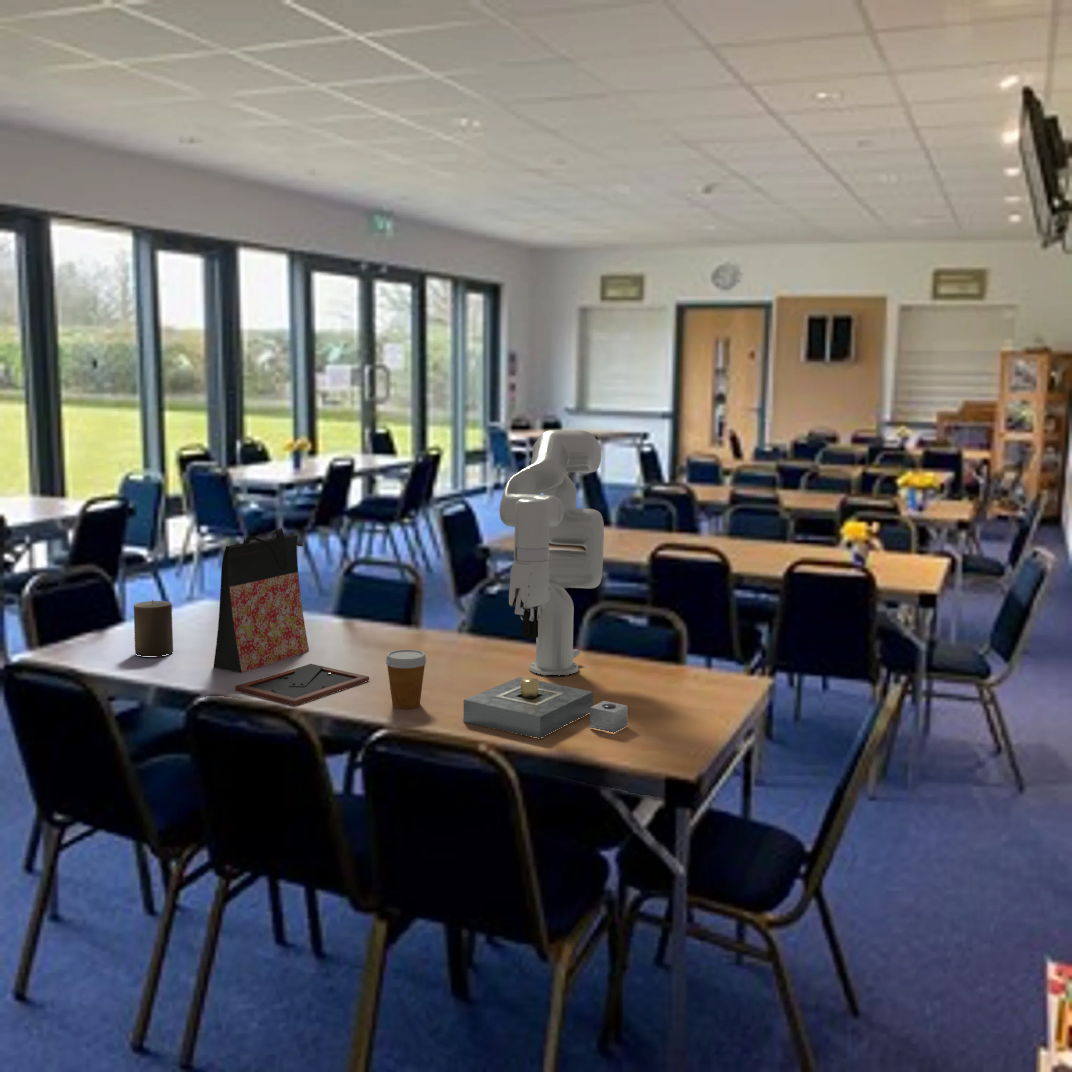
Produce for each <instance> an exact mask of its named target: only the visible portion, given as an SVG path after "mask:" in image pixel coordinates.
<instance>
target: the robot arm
mask: <svg viewBox="0 0 1072 1072" xmlns="http://www.w3.org/2000/svg"><path fill="white" fill-rule="evenodd" d="M530 461H531V462H530V465H528V466H527V467H525V468H523V469H520V471H518V472H516V474H514V475H513V476H511V477H510V478H509V479H508V481H507V482H506V483H505V485H504V489H503V492H502V496H501V499H500V504H499V508H498V509H499V510H498V511H499V518H500V520H501V522H502V524H503V525H505V526H506V527H511V528H514V544H513V545H514V550H513V551H514V552H513V553H514V554H513V555H514V557H513V558H514V559H513V562H512V567H511V571H510V578H509V592H508V604H509V606H510V607H513V608H515V609H514V614H515V615H519V616H520V620H521V621H522V622H521V628H522V629H521V636H522V637H523V638H525V639H533V640H534V639H536V641H535V644H536V646H535V650H536V651H535V661H533V662H531V663H530V665H529V670H530V671H531V672H532V673H534V674H536V673H537V674H536V675H540V674H541V675H540V676H546V675H558V676H557V677H561V676H560V675H565V676H570V675H569V674H571V675H574V674H576V673H578V671H579V665H578V664H577V663H576V662H574V660H575V658H577V657H579V656H580V650H579V649H576V648H575V649H574V614H575V613H574V612H575V611H574V610H575V609H574V602H573V599H572V597H571V596H570V594H569V593H568V592H567V590H566V589H568V588H571V589H574V588H575V589H596V588H598V587H599V585H600V584H601V581H602V578H603V568H604V565H603V564H604V543H605V541H604V540H605V539H604V538H605V537H604V535H605V526H604V525H605V523H604V519H603V516H602V513H601V512H600V511H599V510H596V509H593V508H577V505H576V504H577V487H576V486H575V484H574V482H573V481H572V480H571V478H570V477H569V476H568V475H567V474H566V473H585V474H587V473H590V474H591V473H595V472H596V471H597V470H598V469H599V468H600V465H601V461H602V449H601V446H600V443H599V441H598V439H597V438H596V437H595V435H593V433H591V432H589V431H586V430H567V429H551V430H547V431H544V432H542V433H541V434H540V435H539V436H538V438H537V440H536V441H535V443H534V444H533V447H532V458H531V460H530ZM550 544H552V545H563V546H581V547H584V549H585V550H570V549H549V548H550ZM573 673H574V674H573Z"/></svg>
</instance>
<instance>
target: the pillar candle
mask: <svg viewBox="0 0 1072 1072" xmlns="http://www.w3.org/2000/svg"><path fill="white" fill-rule="evenodd" d="M172 607H173V606H172V602H171V601H166V600H153V599H151V600H150V601H149V600H147V601H142V602H136V603H134V604H133V624H134V653H136V654H137V655H141V656H162V655H166V654H170V655H172V654H173V653H174V639H173V636H174V632H173V613H172V612H173V609H172ZM172 652H173V653H172ZM171 653H172V654H171ZM136 654H135V655H136Z"/></svg>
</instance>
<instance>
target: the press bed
mask: <svg viewBox="0 0 1072 1072" xmlns="http://www.w3.org/2000/svg"><path fill="white" fill-rule="evenodd" d="M523 678H524V677H521V676H519V677H516V678H515V679H511V680H509V681H507V682H505V683H501V684H500V685H497V686H494V687H491V688H489V689H487V690H483V691H482V692H479V693H477V694H475V695H472V696H469V697H467V698H464V699H463V716H462V717H463V720H462V721H463V723H467V724H471V725H475V724H476V726H479V725H481V726H480V727H485V728H488V727H489V729H492V728H495V729H494V730H496V729H499V730H498V731H501V730H504V731H503V732H505V731H509V732H513V733H517V734H516V735H518V734H522V735H527V736H532V737H537V738H539V739H540V738H541V737H544V736H545V735H547V734H549V733H551V732H553V731H555V730H557V729H559V728H561V727H563V726H564V725H566V724H569V723H570V722H572V721H575V720H577V719H578V718H581V717H583V716H585V715H586V714H588V713H590V707H592V706H594V705H593V704H594V703H593V701H594V691H592V690H587V689H586V690H585V689H581V688H575V687H573V686H572V687H571V686H566V685H561V684H557V683H552V682H551V683H550V682H546V681H541V680H539V687H538V698H536V699H534V700H530V699H525V698H520V689H521V679H523ZM509 732H508V733H509ZM513 733H512V734H513ZM522 735H521V736H522ZM544 738H545V737H544ZM539 739H538V740H539ZM540 740H541V739H540Z"/></svg>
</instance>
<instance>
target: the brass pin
mask: <svg viewBox="0 0 1072 1072" xmlns="http://www.w3.org/2000/svg"><path fill="white" fill-rule="evenodd" d="M522 678H523V679H521V689H520V698H525V699H530V700H534V699H536V698H538V687H539V681H540V680H539V679H538V678H535V677H522Z"/></svg>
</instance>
